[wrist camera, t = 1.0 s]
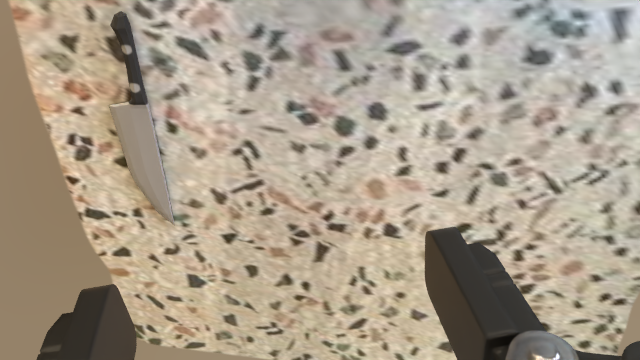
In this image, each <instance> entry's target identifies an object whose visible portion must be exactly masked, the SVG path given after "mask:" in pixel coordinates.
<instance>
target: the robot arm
mask: <svg viewBox="0 0 640 360" xmlns="http://www.w3.org/2000/svg"><path fill="white" fill-rule="evenodd" d="M425 281H426V287H427V291H428V294H429V297H430V299H431V302H432V304H433V306H434V308H435V310H436V313H437V315H438V317H439V319H440V322H441V324H442V326H443V328H444V331H445V333H446V335H447V337H448V340H449V342H450V344H451V346H452V348H453V351H454V353H455V355H456V357H457V360H640V341H638V342H634V343H632V344H630V345H629V346H627V347H626V349H625V350H624V352H623V354H622V356H614V355H603V354H593V353H585V352H581V351H577V350H574V349H573V347H572V346H571V345H570V344H569V343H567V342H566V341H565V340H563V339H562V338H560V337H558V336H556V335H554V334H551V333H548V332H547V331H546V330H545V329H544V327H543V326H542V324H541V323H540V321H539V320H538V318H537V317H536V315H535V314H534V312H533V311H532V309H531V307H530V306H529V304H528V303H527V301H526V300H525V298H524V297H523V295H522V294H521V292H520V291H519V289H518V288H517V286H516V285H515V284H513V280H512V279H511V277H510V276H509V274H508V273H507V272H506V271H505V268H504V267H503V265H502V264H501V262H500V261H499V259H498V258H497V256H496V255H495V254H494V253H493V252H491V251H490V250H489V249H487V248H486V247H484V246H483V245H482V244H480V243H474V244H468V245H467V244H466V242H465V240H464V239H463V237H462V235H461V234H460V232H459V230H458V229H457V228H456V227H450V228H444V229H438V230H433V231H427V232H426V237H425ZM40 352H41V353H40V354H39V355H38V357H37V360H134V357H135V352H136V332H135V328H134V324H133V322H132V320H131V317H130V315H129V313H128V310H127V308H126V306H125V303H124V301H123V299H122V297H121V294H120V292H119V290H118V288H117V286H116V285H114V284H112V285H106V286H100V287H94V288H88V289H83V290H82V291H81V292H80V294H79V297H78V300H77V303H76V305H75V308H74V311H73V312H71V313H66V314H62V315H61V317H60V318H59V319H58V320H57V321H56V322H55V323H54V325H53V326H52V327H51V328H50V330H49V331H48V332H47V334H46V337H45V339H44V342H43V345H42V347H41V350H40Z"/></svg>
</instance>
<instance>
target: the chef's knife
mask: <svg viewBox="0 0 640 360" xmlns="http://www.w3.org/2000/svg"><path fill="white" fill-rule="evenodd" d="M110 26H111V27H112V29H113V30H114V32H115V33H116V36H117V38H118V41H119V43H120V45H121V48H122V51H123V55H124V60H125V64H126V68H127V74H128V81H129V87H130V92H131V97H132V99H131V100H130V101H129V102H124V103H119V104H114V105H109V108H110V111H111V114H112V117H113V120H114V124H115V127H116V130H117V133H118V136H119V139H120V143H121V146H122V149H123V152H124V155H125V158H126V162H127V165H128V168H129V170H130V172H131V174H132V176H133V179H134V181H135V183H136V184H137V186H138V187H139V188H140V190H141V191H142V192H143V194H144V195H145V196H146V198H147V199H148V200H149V202H150V203H151V204H152V205H153V207H154V208H155V209H156V211H157V212H158V213H159V214H161V215H162V216H163V217H164V218H166V219H167V220H168V221H169V222H171V223H172V224H173V225H174V220H173V214H172V209H171V204H170V199H169V195H168V190H167V185H166V180H165V175H164V171H163V166H162V162H161V157H160V152H159V148H158V143H157V139H156V134H155V130H154V125H153V121H152V116H151V112H150V107H149V104H148V100H147V96H146V92H145V89H144V85H143V80H142V76H141V71H140V67H139V62H138V58H137V53H136V49H135V44H134V40H133V35H132V31H131V26H130V23H129V20H128V18H127V16H126V14H125V13H123V12H122V11H121V12H119V13H117V14H115V15H114V17H113V20H112V22H111V25H110ZM174 226H175V225H174Z"/></svg>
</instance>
